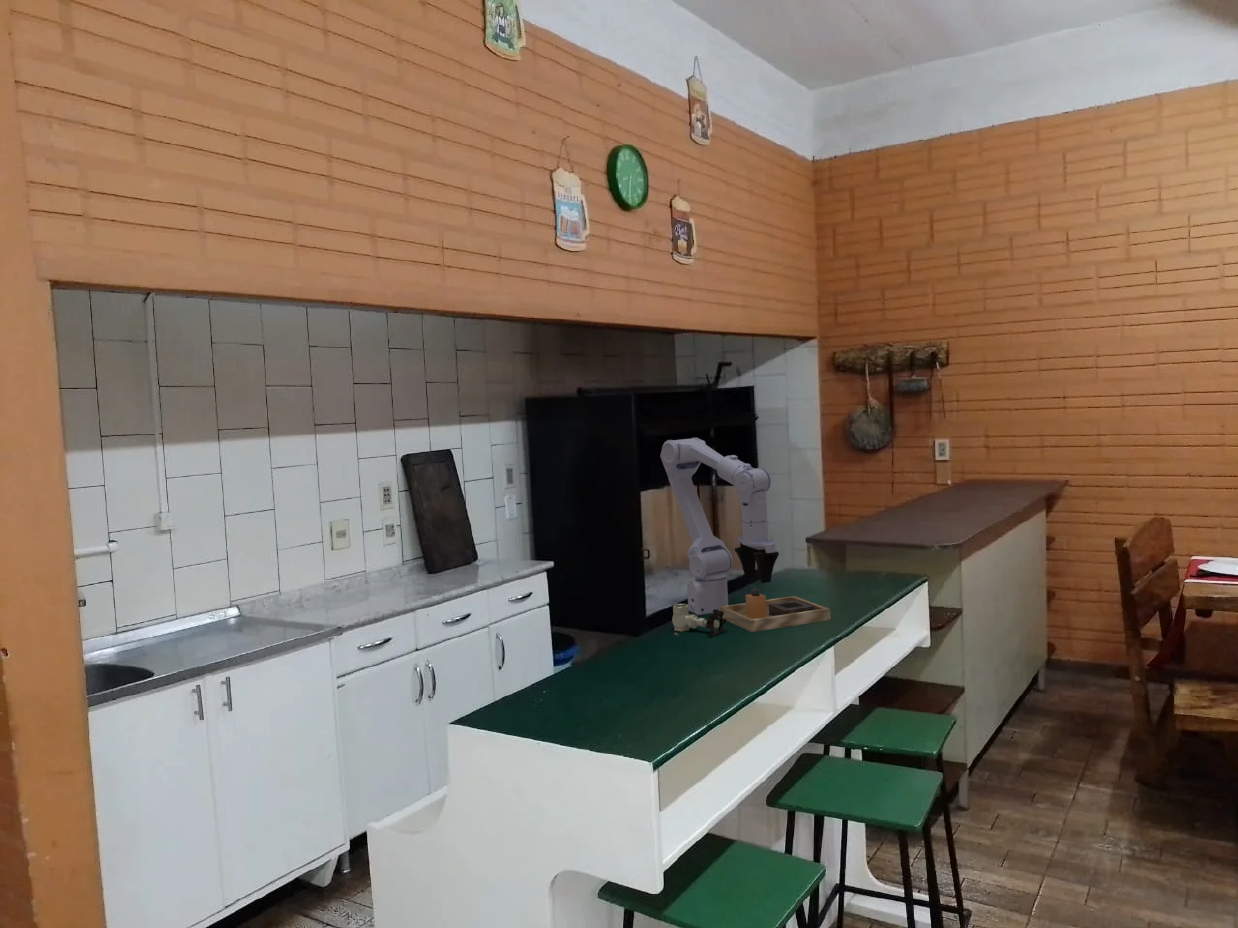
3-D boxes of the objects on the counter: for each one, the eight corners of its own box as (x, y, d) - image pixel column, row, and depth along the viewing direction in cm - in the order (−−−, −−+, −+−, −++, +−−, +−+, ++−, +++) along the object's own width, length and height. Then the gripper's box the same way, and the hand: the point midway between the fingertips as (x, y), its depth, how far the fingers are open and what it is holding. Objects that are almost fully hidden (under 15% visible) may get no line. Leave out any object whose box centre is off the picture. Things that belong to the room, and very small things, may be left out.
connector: (753, 623, 212) (752, 592, 211) (746, 620, 215) (745, 589, 214) (766, 621, 213) (765, 590, 212) (760, 618, 216) (758, 587, 215)
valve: (666, 636, 210) (711, 642, 202) (664, 607, 209) (709, 612, 202) (683, 629, 215) (727, 635, 207) (681, 601, 214) (725, 606, 207)
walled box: (751, 636, 205) (750, 620, 204) (720, 621, 220) (719, 606, 219) (830, 623, 211) (829, 608, 211) (795, 609, 226) (794, 595, 226)
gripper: (786, 522, 208) (789, 582, 209) (755, 516, 221) (758, 572, 222) (758, 526, 205) (761, 586, 206) (728, 519, 219) (731, 576, 220)
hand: (757, 579), depth 214 cm, fingers open, 7 cm apart
